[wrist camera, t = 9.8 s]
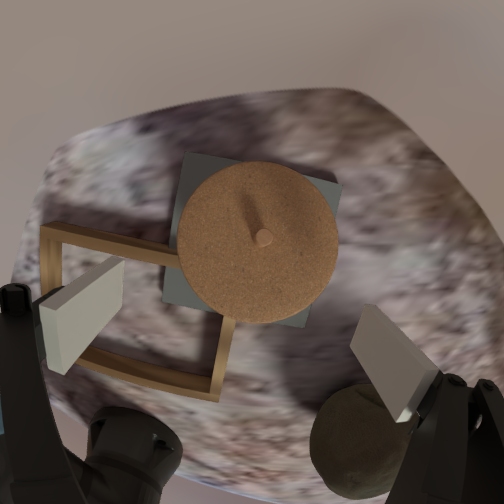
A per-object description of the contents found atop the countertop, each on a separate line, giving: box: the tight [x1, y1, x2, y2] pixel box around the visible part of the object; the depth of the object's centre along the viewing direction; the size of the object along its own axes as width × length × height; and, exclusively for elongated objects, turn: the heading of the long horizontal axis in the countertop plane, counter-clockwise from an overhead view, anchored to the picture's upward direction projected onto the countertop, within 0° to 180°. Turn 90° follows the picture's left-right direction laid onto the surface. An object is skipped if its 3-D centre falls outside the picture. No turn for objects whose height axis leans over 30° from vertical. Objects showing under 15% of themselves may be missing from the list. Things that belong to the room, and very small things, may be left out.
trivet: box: [162, 151, 343, 328], centre depth 28 cm, size 15×15×1 cm
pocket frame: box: [40, 221, 236, 402], centre depth 29 cm, size 16×22×3 cm
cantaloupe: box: [310, 384, 419, 500], centre depth 27 cm, size 14×14×15 cm
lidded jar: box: [177, 161, 338, 323], centre depth 22 cm, size 11×11×9 cm
